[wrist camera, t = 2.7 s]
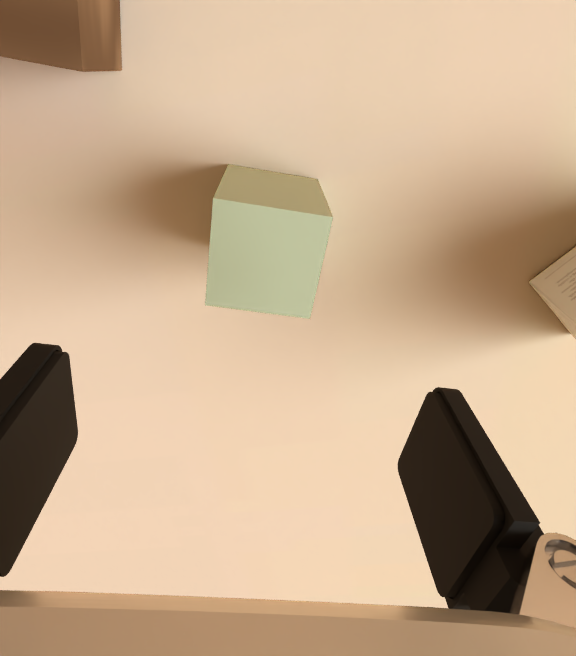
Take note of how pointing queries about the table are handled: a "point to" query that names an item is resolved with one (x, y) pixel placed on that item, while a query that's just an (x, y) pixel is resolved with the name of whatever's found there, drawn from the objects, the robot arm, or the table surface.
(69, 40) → the walnut base
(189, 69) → the table surface
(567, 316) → the small box
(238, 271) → the sage block
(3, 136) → the table surface
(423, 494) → the robot arm
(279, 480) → the table surface
